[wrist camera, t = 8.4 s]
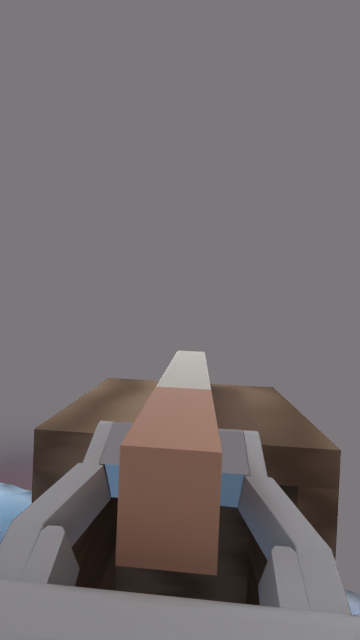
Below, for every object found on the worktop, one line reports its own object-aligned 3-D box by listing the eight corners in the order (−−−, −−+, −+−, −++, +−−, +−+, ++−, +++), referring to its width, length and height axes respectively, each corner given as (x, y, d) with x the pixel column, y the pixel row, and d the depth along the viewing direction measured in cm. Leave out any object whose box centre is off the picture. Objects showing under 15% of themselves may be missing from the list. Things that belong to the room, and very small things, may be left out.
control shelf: (16, 900, 16) (34, 429, 15) (98, 637, 29) (108, 378, 28) (315, 951, 15) (340, 450, 14) (260, 655, 28) (273, 387, 27)
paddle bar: (114, 565, 7) (120, 445, 7) (176, 382, 27) (177, 350, 27) (216, 575, 7) (222, 452, 7) (203, 384, 27) (204, 352, 27)
